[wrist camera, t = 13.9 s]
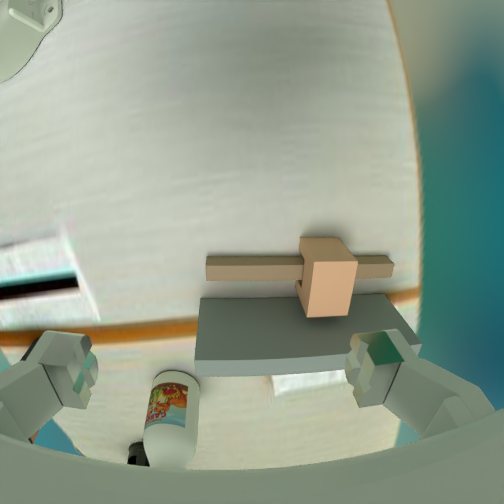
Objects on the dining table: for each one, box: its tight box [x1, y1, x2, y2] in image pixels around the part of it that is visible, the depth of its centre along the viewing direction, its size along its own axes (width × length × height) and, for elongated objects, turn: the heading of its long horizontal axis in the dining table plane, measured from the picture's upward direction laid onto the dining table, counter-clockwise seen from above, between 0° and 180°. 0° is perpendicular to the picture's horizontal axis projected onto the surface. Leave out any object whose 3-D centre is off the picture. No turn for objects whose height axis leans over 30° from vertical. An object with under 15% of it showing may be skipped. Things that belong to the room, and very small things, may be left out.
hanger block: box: [295, 237, 358, 317], centre depth 38 cm, size 7×5×7 cm
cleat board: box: [194, 256, 422, 377], centre depth 37 cm, size 8×26×12 cm, turn 88°
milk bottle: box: [143, 371, 200, 469], centre depth 39 cm, size 8×8×20 cm
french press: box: [127, 442, 150, 467], centre depth 46 cm, size 12×9×23 cm
